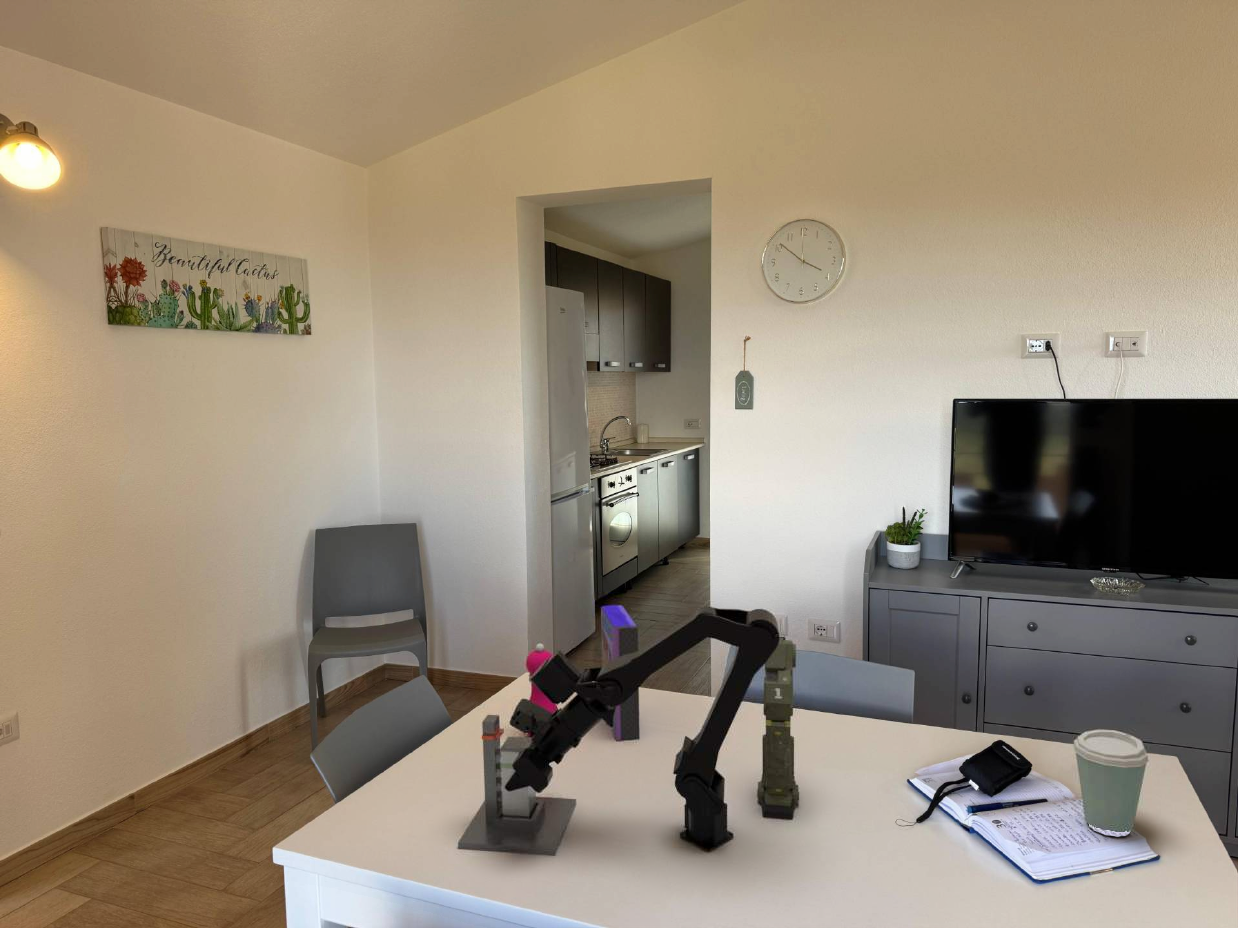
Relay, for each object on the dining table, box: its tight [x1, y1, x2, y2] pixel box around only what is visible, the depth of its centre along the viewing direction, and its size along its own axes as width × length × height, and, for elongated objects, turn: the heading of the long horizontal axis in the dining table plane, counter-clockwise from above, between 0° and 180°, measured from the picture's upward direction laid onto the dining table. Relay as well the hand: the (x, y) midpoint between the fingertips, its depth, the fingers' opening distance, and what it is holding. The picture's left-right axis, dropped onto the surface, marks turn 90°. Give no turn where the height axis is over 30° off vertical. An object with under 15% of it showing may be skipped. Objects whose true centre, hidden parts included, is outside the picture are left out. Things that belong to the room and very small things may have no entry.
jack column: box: [500, 736, 537, 819], centre depth 141 cm, size 5×5×13 cm
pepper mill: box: [525, 643, 559, 738], centre depth 176 cm, size 7×7×20 cm
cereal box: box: [600, 604, 641, 742], centre depth 181 cm, size 17×5×24 cm, turn 10°
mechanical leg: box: [756, 636, 800, 821], centre depth 147 cm, size 14×7×30 cm, turn 168°
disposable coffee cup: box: [1072, 729, 1149, 832], centre depth 137 cm, size 11×11×15 cm
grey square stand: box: [457, 714, 577, 856], centre depth 140 cm, size 16×16×18 cm
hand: (510, 781), depth 141 cm, fingers closed on jack column, 4 cm apart
